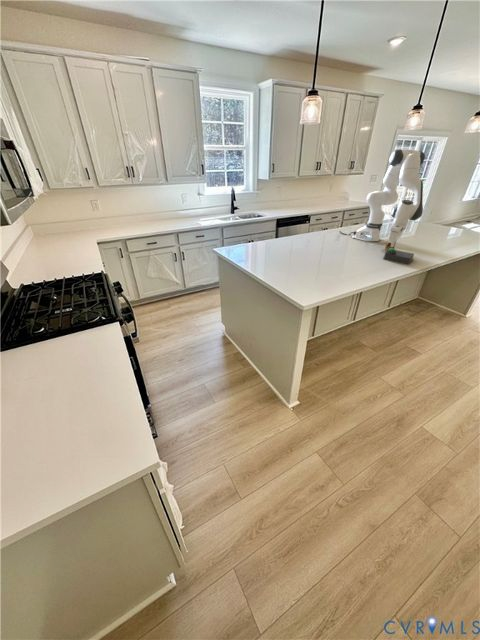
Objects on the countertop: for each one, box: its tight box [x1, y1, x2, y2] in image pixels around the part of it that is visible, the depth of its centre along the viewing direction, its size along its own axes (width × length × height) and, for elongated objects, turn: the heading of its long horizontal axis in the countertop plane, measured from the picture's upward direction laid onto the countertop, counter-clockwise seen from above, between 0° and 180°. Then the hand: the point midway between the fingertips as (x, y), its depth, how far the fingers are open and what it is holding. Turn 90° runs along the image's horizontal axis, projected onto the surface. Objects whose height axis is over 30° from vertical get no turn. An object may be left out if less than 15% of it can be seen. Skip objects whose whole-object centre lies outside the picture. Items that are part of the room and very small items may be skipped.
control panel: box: [383, 249, 415, 265], centre depth 185 cm, size 17×13×6 cm
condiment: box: [382, 240, 397, 253], centre depth 198 cm, size 7×8×12 cm
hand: (392, 246), depth 183 cm, fingers closed
